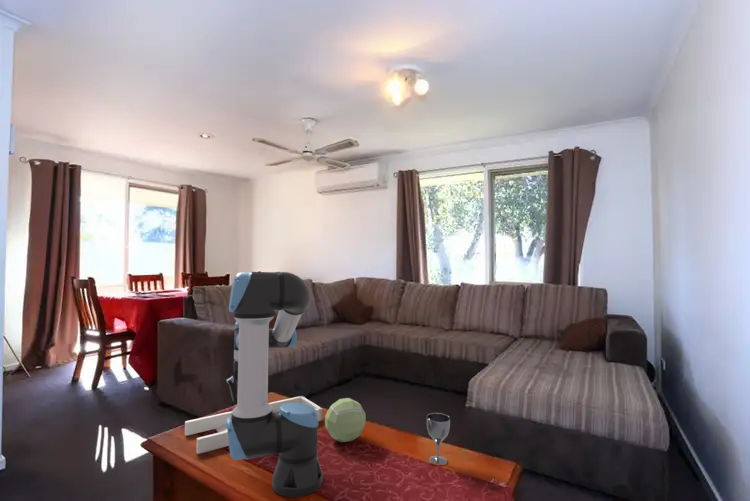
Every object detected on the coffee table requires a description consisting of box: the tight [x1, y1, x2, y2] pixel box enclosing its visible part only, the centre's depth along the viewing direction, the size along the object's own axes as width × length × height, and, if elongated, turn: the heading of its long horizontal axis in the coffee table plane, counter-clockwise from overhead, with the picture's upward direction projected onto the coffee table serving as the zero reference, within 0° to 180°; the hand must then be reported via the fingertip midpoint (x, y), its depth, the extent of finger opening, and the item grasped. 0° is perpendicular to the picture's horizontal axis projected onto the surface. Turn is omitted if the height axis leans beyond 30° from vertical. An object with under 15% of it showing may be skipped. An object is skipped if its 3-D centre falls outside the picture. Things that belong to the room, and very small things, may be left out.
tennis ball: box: [324, 397, 367, 443], centre depth 153 cm, size 15×15×15 cm
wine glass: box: [426, 412, 451, 465], centre depth 138 cm, size 8×8×15 cm
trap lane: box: [184, 395, 324, 455], centre depth 163 cm, size 19×50×7 cm, turn 128°
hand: (241, 419), depth 159 cm, fingers closed
